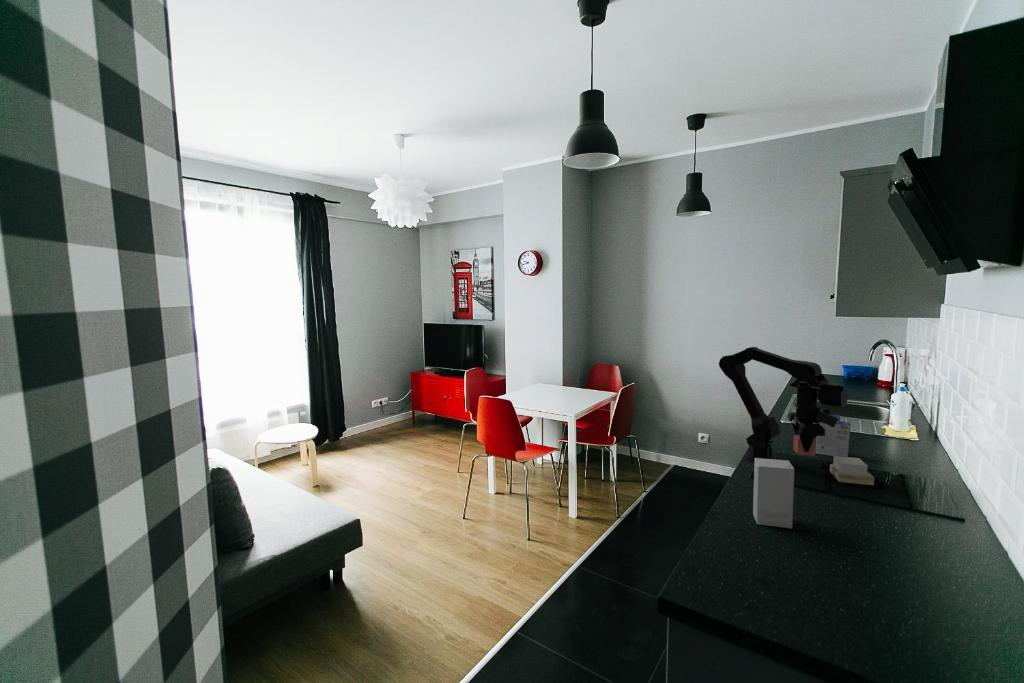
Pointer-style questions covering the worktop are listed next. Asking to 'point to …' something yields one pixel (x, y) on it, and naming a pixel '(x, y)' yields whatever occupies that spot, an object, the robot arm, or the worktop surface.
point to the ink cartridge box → (834, 439)
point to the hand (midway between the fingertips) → (804, 449)
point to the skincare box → (773, 492)
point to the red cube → (799, 448)
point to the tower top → (850, 465)
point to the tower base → (852, 477)
